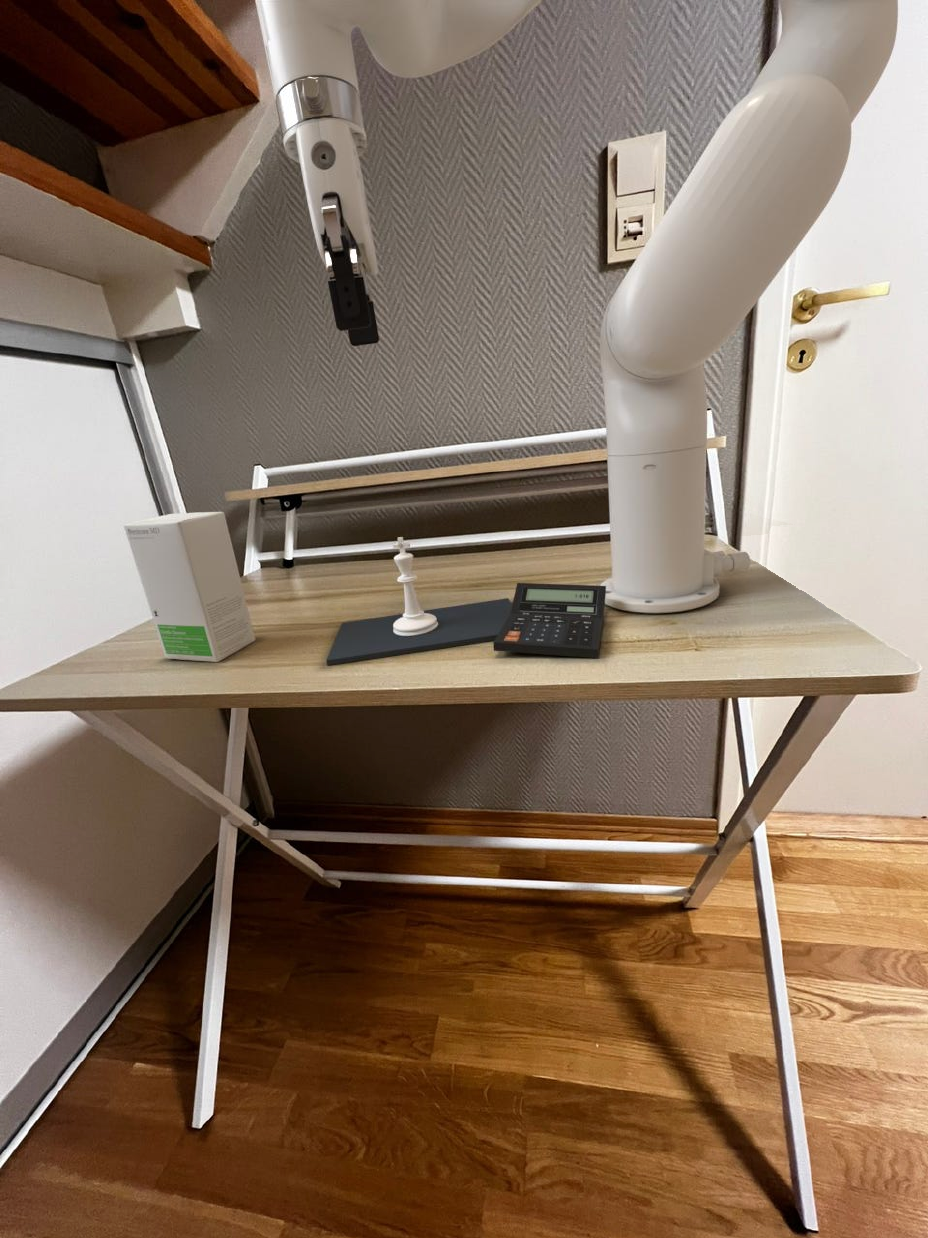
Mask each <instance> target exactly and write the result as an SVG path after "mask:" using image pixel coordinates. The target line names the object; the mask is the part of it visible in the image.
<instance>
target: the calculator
mask: <svg viewBox="0 0 928 1238" xmlns="http://www.w3.org/2000/svg"><path fill="white" fill-rule="evenodd" d="M605 596H606V586H600V585H591V584H589V585H588V584H565V583H564V584H563V583H538V582H537V583H536V582H535V583H534V582H516V587H515V591H514V596H513V601H512V603H511V605H512V609H511V613H510V615H509V617H508V618H507V620H506V622H505V624H504V625H503V627H502V629H501V630H500V632H499V634H498V635H497V637H496V639H495V640H493V642H492V643H493V651H494V652H505V653H520V654H532V655H533V654H534V655H547V656H559V657H560V656H562V657H575V658H589V659H599V654H600V646H601V641H602V634H603V628H604V618H605V617H604V616H605V606H606V604H605Z"/></svg>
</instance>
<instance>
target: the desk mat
mask: <svg viewBox="0 0 928 1238" xmlns="http://www.w3.org/2000/svg"><path fill="white" fill-rule="evenodd" d="M511 609H512V603H511V600H510V599H509V597H507V598H498V599H493V600H487V601H479V602H473V603H465V604H459V605H452V606H446V607H440V608H433V609H426V610H423V611H424V613H427V614H432V615H434V616H435V617H436V618H437V622H438V626H437V627H436V628H435V629H433V630H432V631H429V632H427V633H424V634H420V635H414V636H401V635H397V634H395V633H394V631H393V629H394V627H393V624H394V622H395V621H397V620H398V619H400V618H402V617H404V616H403V614H404V613H398V614H391V615H386V616H379V617H371V618H366V619H358V620H353V621H345V622H342V623H341V625H340V627H339V630H338V631H337V634H336V637H335V639H334V641H333V643H332V646H331V648H330V651H329V653H328V655H327V657H326V660H325V661H326V666H335V665H341V664H347V663H354V662H360V661H367V660H372V659H380V658H386V657H394V656H400V655H407V654H413V653H420V652H426V651H434V650H441V649H447V648H452V647H460V646H467V645H474V644H479V643H485V642H492V641H493V642H494V640H495V639H496V637H497V635H498V634H499V632H500V630H501V629H502V627H503V625H504V624H505V622H506V620H507V618H508V617H509V615H510V613H511Z"/></svg>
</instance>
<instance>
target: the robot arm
mask: <svg viewBox="0 0 928 1238" xmlns="http://www.w3.org/2000/svg"><path fill="white" fill-rule="evenodd" d="M254 1H255V6H256V12H257V16H258V22H259V26H260V31H261V37H262V41H263V47H264V52H265V57H266V61H267V68H268V72H269V76H270V82H271V86H272V92H273V97H274V101H275V106H276V112H277V117H278V122H279V126H280V133H281V136H282V142H283V148H284V151H285V154H286V155H287V156H288V157H289V159H291V160H293V161H294V162H295V163H298V164H299V165H300V170H301V175H302V180H303V187H304V192H305V197H306V202H307V207H308V212H309V216H310V217H309V218H310V220H311V225H312V229H313V234H314V238H315V242H316V246H317V250H318V253H319V256H320V259H321V261H322V262H323V264H324V266H325V268H326V271H327V275H328V279H329V280H327V284H328V285H327V286H328V290H329V295H330V300H331V306H332V311H333V316H334V317H333V318H334V322H335V327H336V328H337V329H338V331H340V332H343V331H347V334H348V339H349V344H350V345H351V346H352V347H360V346H366V345H367V346H368V345H373V344H378V343H379V342H380V336H379V330H378V323H377V316H376V312H375V306H374V301H373V300H372V298H371V293H370V288H369V284H368V279H367V274H372V277H377V275H378V274H379V265H378V260H377V255H376V248H375V241H374V237H373V231H372V224H371V217H370V211H369V205H368V199H367V193H366V188H365V183H364V178H363V172H362V167H361V162H360V159H359V157H361V156H363V154H364V153H365V152H366V150H367V148H368V138H367V133H366V125H365V120H364V114H363V108H362V107H363V106H362V101H361V94H360V88H359V81H358V75H357V69H356V63H355V56H354V48H353V43H352V32H353V30H354V29H355V28H359V30H360V33H361V35H362V37H363V39H364V41H365V43H366V46H367V48H368V49H369V50H370V51H369V52H371V54H372V56H373V58H374V59H375V61H376V62H377V63H378V65H379V66H380V67H381V68H382V69H384V70H385V71H386V72H387V73H388V74H391V75H392V76H395V77H398V78H402V79H416V78H418V79H419V78H423V77H427V76H430V75H433V74H436V73H438V72H441V71H443V70H446V69H448V68H451V67H453V66H456V65H458V64H460V63H463V62H465V61H467V60H470V59H472V58H474V57H476V56H478V55H480V54H481V53H483V52H485V51H486V50H488V49H490V48H491V47H492V46H494V45H495V44H497V42H500V40H501V39H503V38H504V37H505V36H506V35H508V33H509V32H510V31H512V30H513V29H514V28H515V27H516V26H517V25H518V24H519V23H520V22H521V21H522V20H524V19H525V18H526V17H527V16H528V15H529V14H530V13H531V12H532V11H534V9H535V8H536V7H538V6H539V5H540V3H542V1H543V0H254ZM778 4H779V9H780V14H781V33H780V37H779V39H778V43H777V45H776V47H775V48H774V50H773V51H772V53H771V55H770V56H769V58H768V60H767V61H766V63H765V64H764V65H763V68H762V69H761V71H760V72H759V74H758V76H757V78H756V80H755V81H754V82H753V85H752V86H751V88H750V90H749V91H748V93H747V95H745V96H744V97H743V98H741V99H740V100H739V102H738V103H736V105H735V106H734V107H733V108H732V109H731V110H730V111H729V113H727V115H726V116H725V118H724V119H723V120H722V121H721V124H719V126H718V128H717V130H716V132H715V133H714V135H713V136H712V138H711V139H710V141H709V142H708V144H707V146H706V148H704V151H703V152H702V154H701V156H700V157H699V159H698V160H697V162H696V163H695V165H694V167H693V168H692V170H691V172H690V173H689V175H688V177H687V179H686V180H685V181H684V183H683V185H682V186H681V187H680V189H679V191H678V193H677V194H676V195H675V197H674V198H673V200H672V201H671V203H670V205H669V206H668V208H667V209H666V212H665V213H664V215H663V216H662V218H661V219H660V221H659V223H658V224H657V226H656V227H655V229H654V230H653V232H652V233H651V236H650V237H649V238H648V240H647V242H646V243H645V244H644V247H643V248H642V249H641V250H640V252H639V254H638V256H637V257H636V258H635V260H634V262H633V263H632V264H631V266H630V268H629V269H628V271H627V273H626V275H625V276H624V278H623V279H622V281H621V282H620V283H619V285H618V286H617V288H616V289H615V291H614V293H613V294H612V296H611V298H610V300H609V301H608V303H607V306H606V309H605V311H604V314H603V317H602V321H601V326H600V334H599V359H600V369H601V378H602V388H603V389H602V390H603V399H604V400H603V401H604V411H605V413H604V415H605V433H606V459H607V463H606V464H607V484H608V487H607V488H608V510H609V511H608V513H609V534H610V557H611V559H610V560H611V577H609V578H607V579H605V580H604V581H602V582H601V583H600V584H599V586H606V596H605V606H606V605H607V606H608V607H611V608H614V609H617V610H621V611H626V612H631V613H640V614H641V613H642V614H668V613H679V612H684V611H690V610H694V609H698V608H702V607H704V606H707V605H709V604H711V603H713V602H714V601H715V600H716V599H717V598H718V597H720V582H719V581H718V580H717V579H716V577H720V576H721V574H722V573H723V572H738V571H744V570H748V569H749V568H750V566H751V557H750V555H749V553H748V552H747V551H740V552H733V553H728V554H725V551H724V550H719V551H713V552H712V551H710V550H707V549H705V543H706V542H705V537H706V536H705V535H706V533H705V532H706V490H707V489H706V485H707V444H708V401H707V399H708V398H707V388H706V378H705V370H704V363H705V362H706V361H708V360H709V359H710V358H711V357H712V356H713V355H715V354H716V353H717V352H718V351H719V350H720V349H721V348H722V347H723V346H724V344H725V343H727V341H728V340H729V339H730V337H731V336H732V334H734V333H735V332H736V330H737V329H738V327H739V326H740V325H741V324H742V322H743V321H744V320H745V318H746V317H747V316H748V314H749V313H750V312H751V310H752V309H753V307H754V306H755V305H756V303H757V302H758V301H759V299H761V297H762V295H763V294H764V293H765V291H767V289H768V287H769V286H770V285H771V283H772V282H773V280H774V279H775V278H776V277H777V275H778V274H779V272H781V270H782V268H783V267H784V265H785V264H786V263H787V261H789V259H790V257H791V256H792V255H793V253H794V252H795V251H796V249H797V248H798V247H799V245H800V244H801V242H802V241H803V239H804V238H805V237H806V235H807V234H808V233H809V231H810V230H811V229H812V227H813V226H814V225H815V223H816V222H817V220H818V219H819V217H820V216H821V215H822V213H823V212H824V210H825V209H826V207H827V205H829V203H830V201H831V198H832V197H833V195H834V194H835V191H836V190H837V188H838V186H839V184H840V181H841V179H842V177H843V174H844V172H845V169H846V166H847V163H848V158H849V154H850V152H851V151H850V150H851V145H852V123H853V122H854V120H855V119H856V117H857V116H858V114H859V113H860V112H861V110H862V109H863V107H864V105H865V104H866V103H867V101H868V99H869V98H870V97H871V95H872V93H873V92H874V90H875V88H876V86H877V85H878V83H879V81H880V79H881V78H882V75H884V72H885V70H886V68H887V65H888V64H889V61H890V58H891V56H892V54H893V50H894V47H895V43H896V40H897V39H896V38H897V32H898V23H899V22H898V21H899V20H898V18H899V0H778Z"/></svg>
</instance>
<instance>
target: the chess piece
mask: <svg viewBox="0 0 928 1238" xmlns="http://www.w3.org/2000/svg"><path fill="white" fill-rule="evenodd" d="M410 547H411V544H410V541H409V542H405V541H404V537H403V536H400V537H399V536H398V537H397V543H393V544H392V548H393V550H397V549H399V553H398V554H396V555H395V556H394V557H393V561H394V563H395V564H396V566H397V568H398V569H399V570H398V571H399V572H400V573H401V574H400V575H399V576H398V577H397V580H396V581H397V582H398V583H402V584H403V590H404V591H403V592H404V613H402V614H403V616H404V617H402V618H400V619H398V620H397V621H395V622H394V624H393V627H394V629H393V631H394V633H395V634H397V635H401V636H414V635H420V634H424V633H427V632H429V631H432V630H433V629H435V628H436V627H437V626H438V622H437V618H436V617H435V616H434V615H432V614H427V613H424V611H425V610H423V609H421V607H420V603H419V600H418V596H417V593H416V590H415V586H414V582H413V581H416V580H417V579H418V575H417V574H416V573H412V568H413V561H414V554H412V553H410V552H406V549H407V548H408V549H409V548H410Z"/></svg>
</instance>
